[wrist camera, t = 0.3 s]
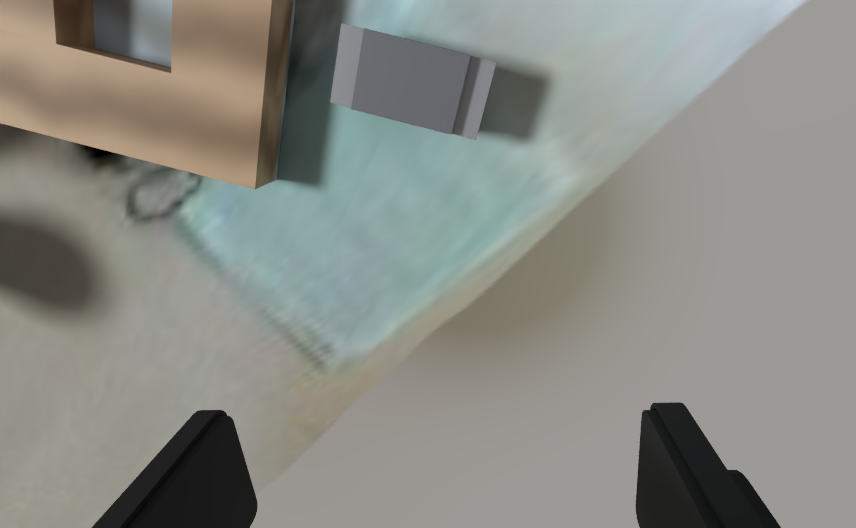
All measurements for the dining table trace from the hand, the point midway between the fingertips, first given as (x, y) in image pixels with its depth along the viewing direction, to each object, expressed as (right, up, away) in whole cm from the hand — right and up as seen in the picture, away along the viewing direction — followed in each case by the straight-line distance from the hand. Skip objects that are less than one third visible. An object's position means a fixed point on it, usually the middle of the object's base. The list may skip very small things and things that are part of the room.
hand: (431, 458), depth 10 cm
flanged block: (-1, +18, +24) cm, 30 cm away
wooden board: (-21, +23, +25) cm, 40 cm away
